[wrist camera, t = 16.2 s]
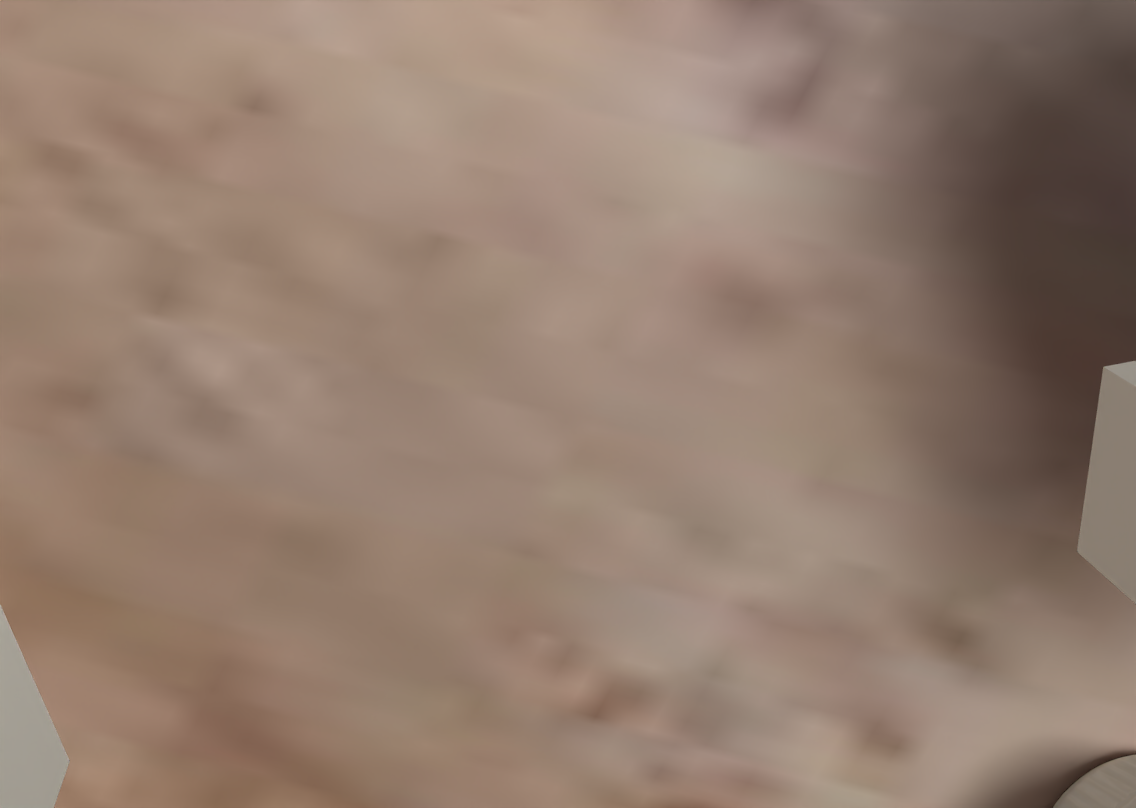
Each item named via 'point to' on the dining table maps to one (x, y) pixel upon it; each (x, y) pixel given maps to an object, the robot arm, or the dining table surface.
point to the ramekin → (1104, 786)
